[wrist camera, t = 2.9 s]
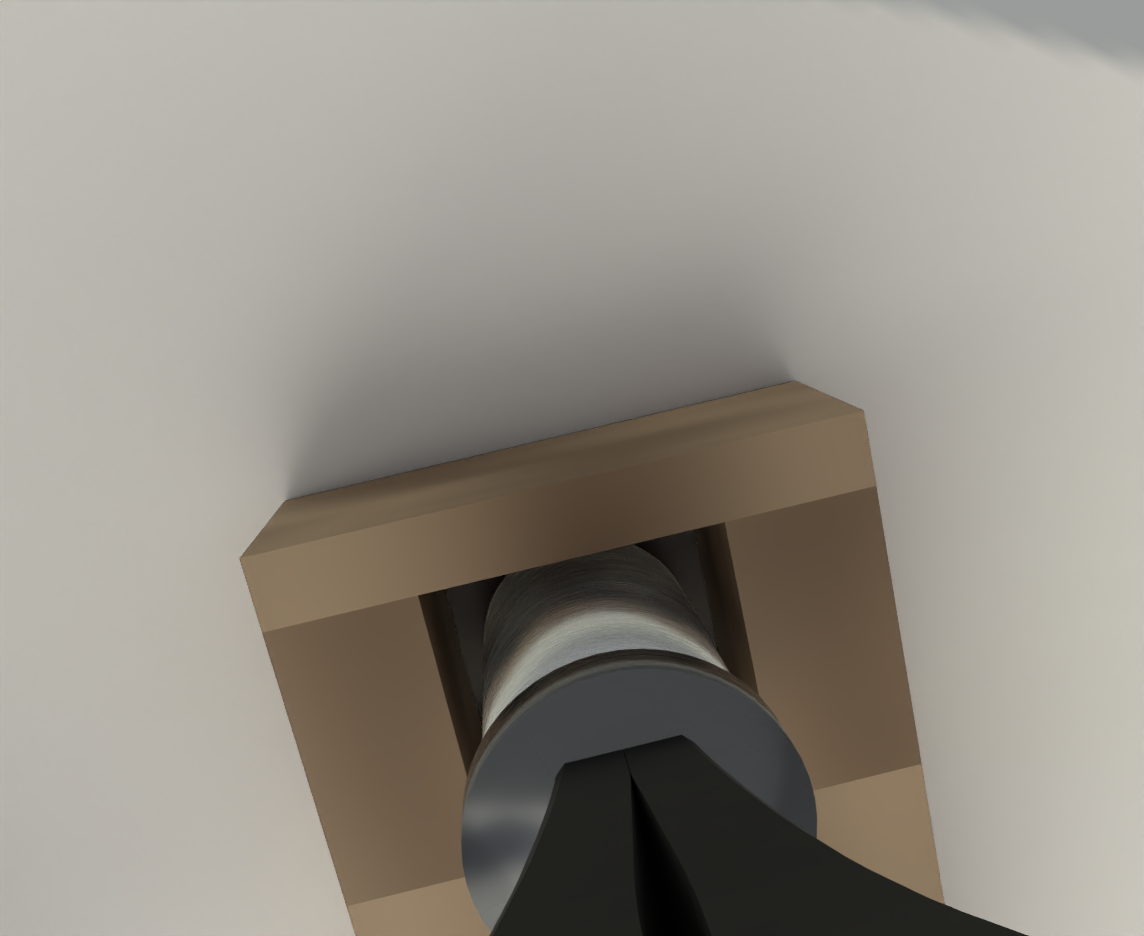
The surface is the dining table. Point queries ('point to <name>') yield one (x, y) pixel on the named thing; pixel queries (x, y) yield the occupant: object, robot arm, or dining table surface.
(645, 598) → the plunger
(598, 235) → the dining table surface
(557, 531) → the jig
